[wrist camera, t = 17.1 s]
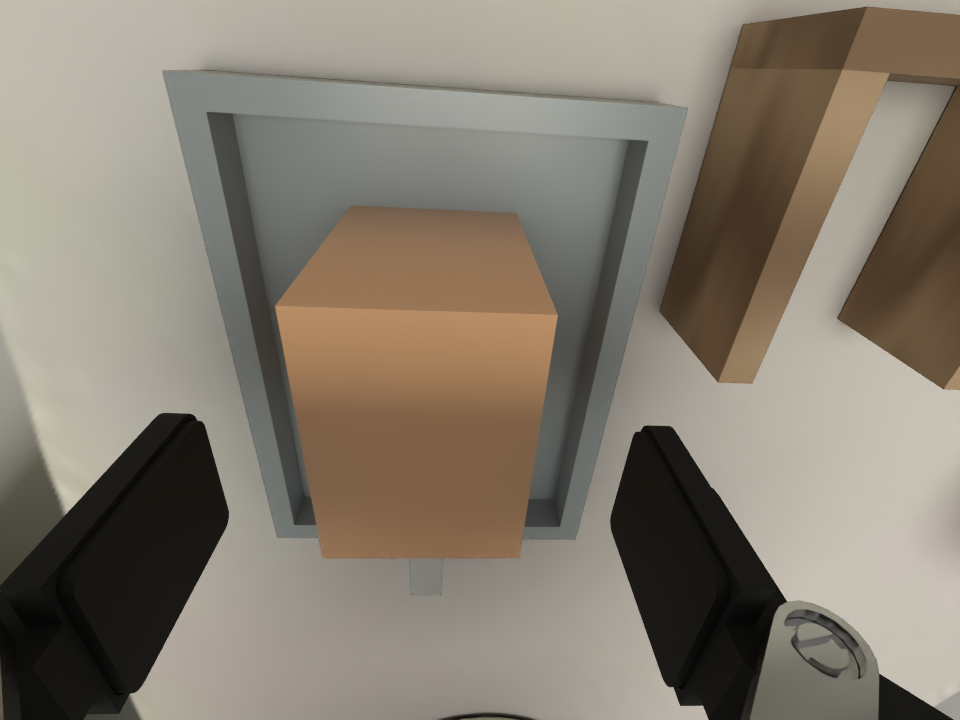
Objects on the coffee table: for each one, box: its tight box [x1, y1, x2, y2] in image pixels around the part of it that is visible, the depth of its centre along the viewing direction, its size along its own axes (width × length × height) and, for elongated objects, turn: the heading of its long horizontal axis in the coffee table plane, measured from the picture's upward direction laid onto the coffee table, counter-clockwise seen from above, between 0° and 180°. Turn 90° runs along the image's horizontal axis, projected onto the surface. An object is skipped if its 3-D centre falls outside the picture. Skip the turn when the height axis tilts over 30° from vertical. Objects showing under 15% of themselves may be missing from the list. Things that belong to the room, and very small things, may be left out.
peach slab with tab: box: [275, 205, 558, 595], centre depth 14 cm, size 11×5×7 cm, turn 177°
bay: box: [660, 7, 960, 390], centre depth 13 cm, size 8×8×4 cm
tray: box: [162, 70, 688, 540], centre depth 17 cm, size 17×13×2 cm
